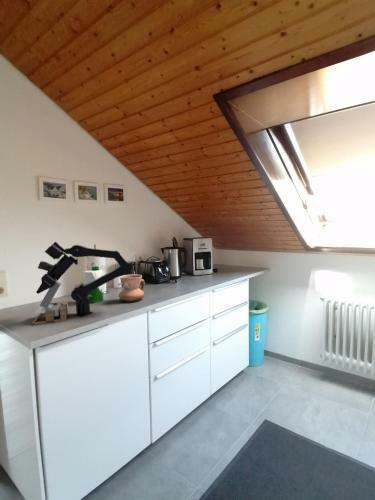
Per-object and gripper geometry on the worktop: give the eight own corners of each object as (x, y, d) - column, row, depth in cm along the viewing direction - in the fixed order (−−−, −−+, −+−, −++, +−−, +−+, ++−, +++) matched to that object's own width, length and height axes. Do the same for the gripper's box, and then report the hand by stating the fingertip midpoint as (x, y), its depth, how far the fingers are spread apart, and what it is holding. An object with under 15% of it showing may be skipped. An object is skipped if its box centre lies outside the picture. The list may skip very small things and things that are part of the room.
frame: (65, 320, 131) (64, 309, 131) (32, 325, 127) (31, 312, 127) (68, 311, 146) (67, 301, 146) (39, 315, 142) (38, 304, 142)
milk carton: (105, 300, 168) (103, 266, 167) (93, 304, 160) (91, 268, 159) (95, 298, 173) (93, 266, 171) (83, 302, 165) (80, 268, 164)
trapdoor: (58, 316, 132) (58, 309, 132) (35, 318, 129) (35, 312, 129) (61, 309, 144) (61, 303, 143) (40, 311, 141) (40, 305, 141)
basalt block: (48, 306, 138) (61, 283, 140) (46, 308, 134) (60, 284, 135) (41, 303, 137) (54, 280, 139) (39, 305, 133) (53, 281, 134)
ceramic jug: (126, 305, 155) (125, 279, 154) (112, 300, 165) (111, 276, 164) (152, 299, 168) (152, 274, 167) (138, 295, 178) (137, 272, 177)
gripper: (51, 253, 144) (28, 277, 141) (45, 256, 126) (19, 283, 124) (69, 267, 147) (47, 291, 144) (65, 272, 129) (40, 299, 126)
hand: (38, 291), depth 135 cm, fingers open, 9 cm apart
